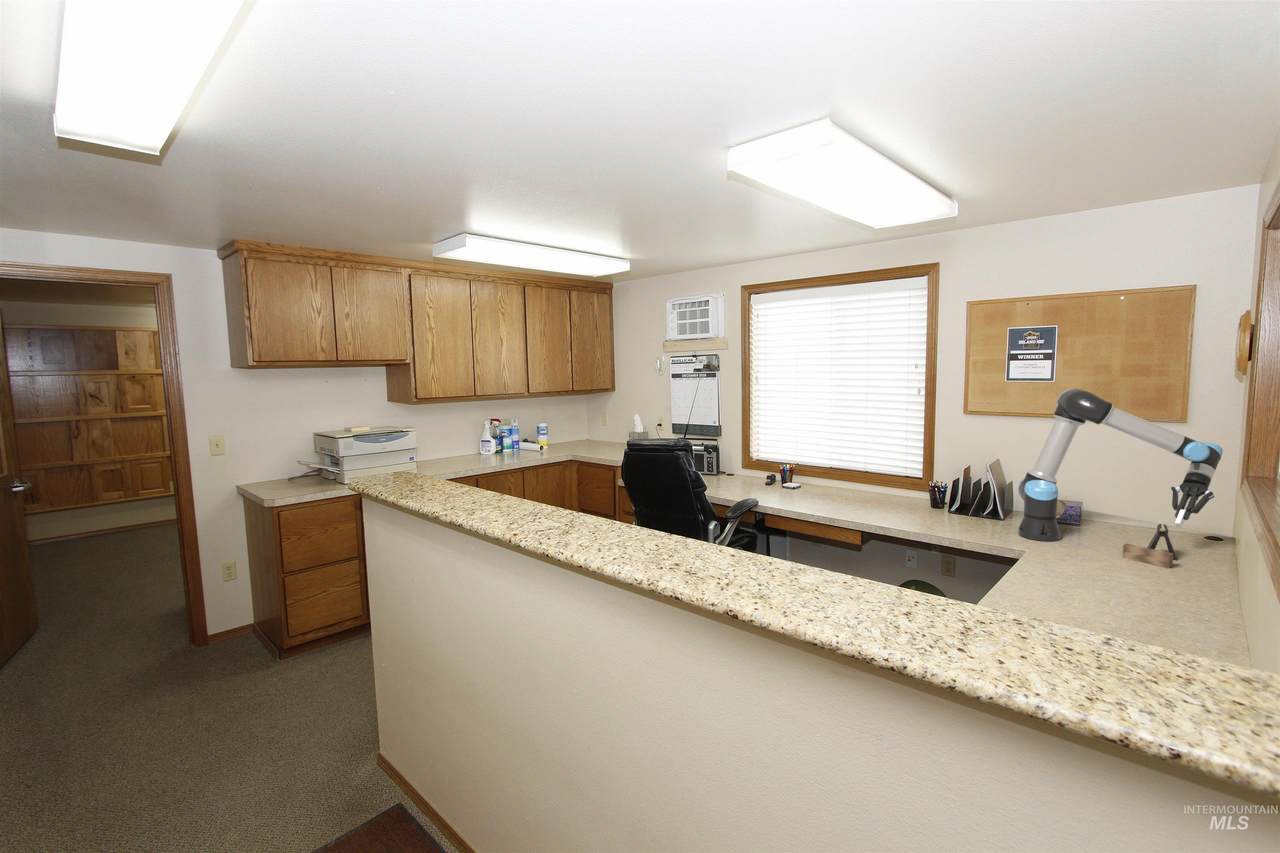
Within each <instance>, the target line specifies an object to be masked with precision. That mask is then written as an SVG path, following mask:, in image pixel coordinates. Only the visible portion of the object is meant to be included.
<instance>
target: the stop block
mask: <svg viewBox="0 0 1280 853" xmlns="http://www.w3.org/2000/svg"><path fill="white" fill-rule="evenodd" d="M1122 558H1123V559H1127V560H1132V561H1136V562H1139V563H1144V564H1149V565H1152V564H1153V566H1156V565H1157V567H1161V568H1166V569H1171V568H1173V565H1174V560H1173V553H1169V551H1163V550H1158V549H1156V548H1155V549H1150V548H1147V547H1145V546H1139V545H1136V544H1132V543H1125V544H1123V545H1122Z"/></svg>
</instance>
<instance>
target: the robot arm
mask: <svg viewBox="0 0 1280 853" xmlns="http://www.w3.org/2000/svg"><path fill="white" fill-rule="evenodd" d="M1056 402H1057V403H1056V405H1057V406H1056V408H1055V411H1054V413H1053V417H1054V419H1055V420H1054V423H1053V425H1052V426H1051V430H1050V432H1049V434H1048V436H1047V438H1046V440H1045V442H1044V445H1043V446H1042V449H1041V451H1040V453H1039V456H1038V457H1037V460H1036V461H1035V464H1034V467H1033V468H1032V469H1030V470H1027V472H1026V474H1025V476H1024V478H1023V479H1021V481H1020V482H1019V484H1018V487H1017V489H1018V494H1019V496H1020V498H1021V500H1023V502H1024V503H1023V504H1024V506H1023V518H1022V520H1021V522H1020V524H1019V526H1018V529H1017V530H1018V531H1017V532H1018V533H1017V534H1018V535H1019V536H1020V537H1022V538H1025V539H1029V540H1031V541H1038V542H1039V541H1040V542H1056V541H1060V540H1061V535H1062V534H1061V533H1062V532H1061V531H1060V527H1059V524H1058V522H1057V514H1058V496H1059V489H1058V485H1057V483H1058V481H1057V479H1056V475H1057V474H1058V471H1059V468H1060V467H1061V465H1062V462H1063V460H1064V458H1065V456H1066V453H1067V452H1068V449H1069V447H1070V446H1071V443H1072V441H1073V440H1074V439H1073V438H1074V437H1075V435H1076V433H1077V430H1078V428H1079V427H1080V426H1083V425H1086V424H1085V423H1086V421H1088V422H1091V423H1093V424H1096V425H1105V426H1108V427H1110V428H1112V429H1114V430H1117V431H1119V432H1122V433H1125V434H1127V435H1128V436H1129V435H1130V436H1131V437H1134V438H1136V439H1139V440H1140V441H1143V442H1145V443H1148V444H1149V445H1153V446H1156V447H1157V448H1160V449H1163V450H1165V451H1166V452H1170V453H1172V454H1174V455H1176V456H1178V457H1181V458H1184V459H1185V460H1187V461H1190V465H1189V467H1188V470H1187V472H1186V474H1185V477H1184V478H1183V481H1182V483H1180V484H1179V486H1176V487H1175V486H1171V487H1170V489H1171V491H1172V502H1171V506H1172V509H1173V511H1176V512H1175V513H1174V518H1175V522H1174V524H1175V526H1176V527H1177V528H1182V527H1183V525H1184V522H1185V521H1188V520H1189V519H1190V516H1191V515H1192V514H1198V513H1199V512H1201V510H1202V509H1203V508H1204V507H1205V506H1206V504H1208V502H1209V501H1210V500H1211V499H1213V498H1215V495H1214V492H1213V491H1209V487H1210V485H1211V483H1212V479H1213V477H1214V474H1215V472H1216V470H1217V468H1218V464H1219V463H1220V461H1221V459H1222V455H1223V448H1222V447H1221V445H1218V444H1217V443H1212V442H1208V441H1206V442H1201V441H1197V440H1196V439H1192V438H1190V437H1188V436H1185V435H1183V434H1180V433H1178V432H1175V431H1173V430H1170V429H1169V428H1165V427H1163V426H1160V425H1159V424H1156V423H1153V422H1151V421H1148V420H1146V419H1144V418H1141V417H1140V416H1136V415H1135V414H1131V413H1129V412H1127V411H1124V410H1122V409H1119V408H1116V407H1114V404H1113V403H1111V402H1109V401H1107V400H1105V399H1103V398H1101V397H1099V396H1098V395H1096V394H1094V393H1092V392H1091V391H1088V390H1084V389H1082V388H1081V389H1080V388H1071V389H1068V390H1065V391H1063V392H1062V393H1061V394H1060V395H1059V397H1058V398H1057V401H1056ZM1180 491H1181V493H1182V496H1181V499H1180V501H1179V493H1180ZM1200 497H1201V498H1200ZM1199 498H1200V499H1199ZM1197 501H1198V502H1197ZM1186 505H1187V506H1186Z"/></svg>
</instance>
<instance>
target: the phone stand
mask: <svg viewBox="0 0 1280 853" xmlns="http://www.w3.org/2000/svg"><path fill="white" fill-rule="evenodd" d="M1163 528H1164V530H1162V529H1163ZM1160 529H1161V530H1160ZM1161 537H1163V538H1164V539H1165V543H1166V547H1167V550H1168V551H1167V552H1169V553H1173V561H1178V558H1177V554H1176V551H1175V550H1174V546H1173V544H1172V542H1171V539H1170V537H1169V528H1168V526H1167V524H1163V527H1162V524H1161V523H1159V524H1157V526H1156V532H1155V533H1154V535H1153V537H1152V539H1151V540H1150V542H1149V544H1148V546H1147V547H1146V548H1150V549H1155V550H1156V547H1157V545H1158V543H1159V541H1160V539H1161Z"/></svg>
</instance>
